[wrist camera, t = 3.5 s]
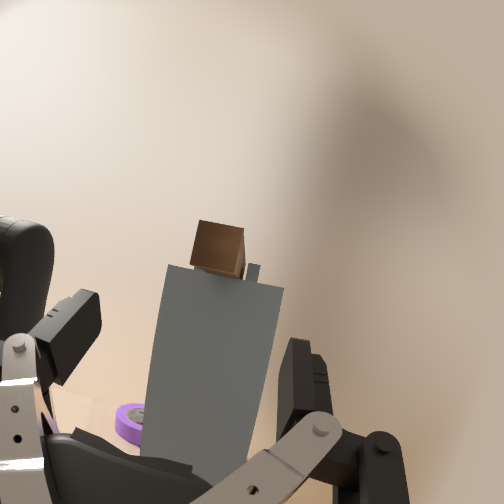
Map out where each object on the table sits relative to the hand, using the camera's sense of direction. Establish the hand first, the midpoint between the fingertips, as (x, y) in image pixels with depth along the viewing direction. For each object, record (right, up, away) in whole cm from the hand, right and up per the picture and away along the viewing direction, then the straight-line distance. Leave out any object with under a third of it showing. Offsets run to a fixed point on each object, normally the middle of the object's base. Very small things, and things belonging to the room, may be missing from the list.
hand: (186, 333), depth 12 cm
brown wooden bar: (0, +1, +16) cm, 16 cm away
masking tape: (-18, -31, +38) cm, 52 cm away
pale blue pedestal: (-6, -31, +17) cm, 36 cm away
